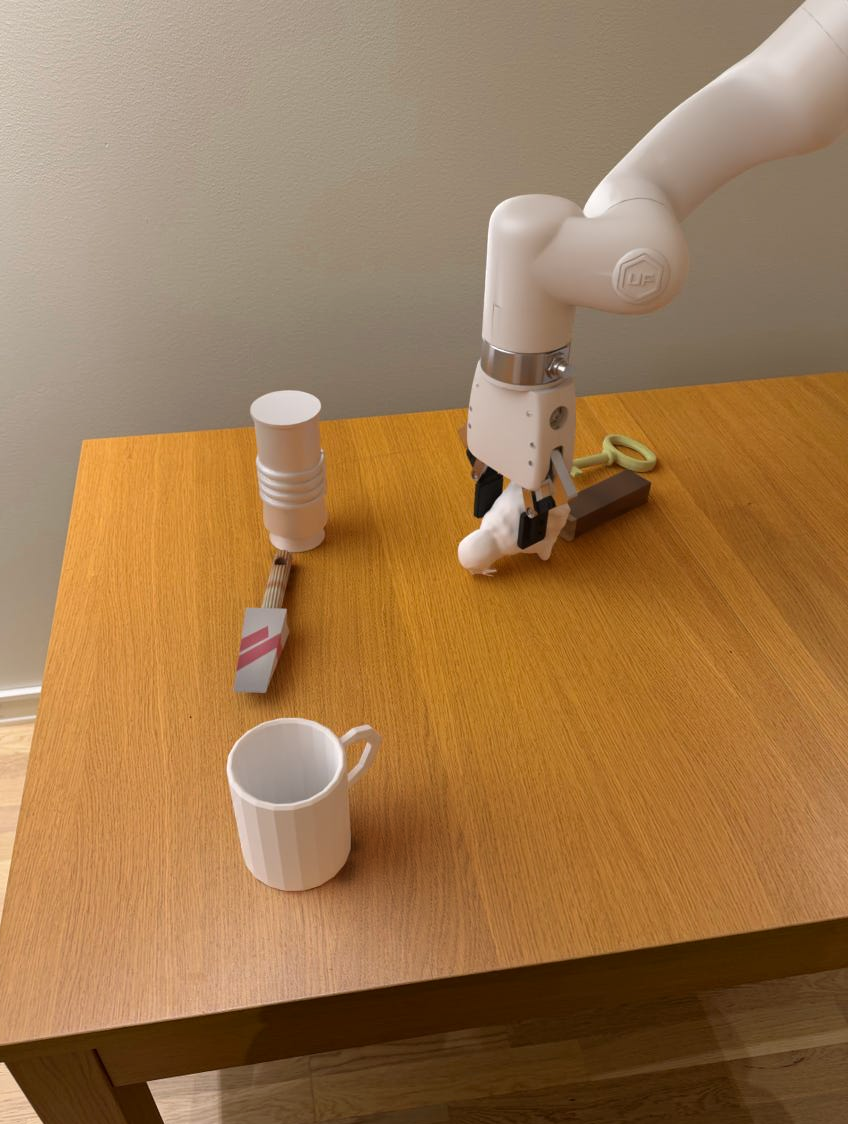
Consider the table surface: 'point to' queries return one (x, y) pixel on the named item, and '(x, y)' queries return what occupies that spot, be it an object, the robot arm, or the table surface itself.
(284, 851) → the mug
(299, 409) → the white ribbed cylinder
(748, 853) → the table surface
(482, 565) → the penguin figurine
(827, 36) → the robot arm
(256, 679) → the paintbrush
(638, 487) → the walnut bar
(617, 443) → the key
